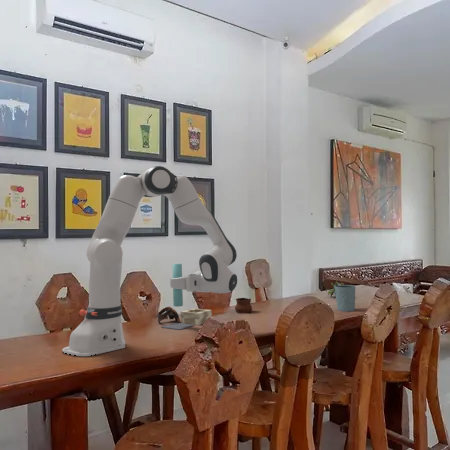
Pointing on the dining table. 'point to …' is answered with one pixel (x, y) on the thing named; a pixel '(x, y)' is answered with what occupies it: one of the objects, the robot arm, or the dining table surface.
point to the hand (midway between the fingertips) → (175, 280)
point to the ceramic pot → (243, 305)
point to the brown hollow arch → (168, 314)
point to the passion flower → (334, 288)
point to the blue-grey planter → (345, 297)
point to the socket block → (195, 316)
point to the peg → (177, 292)
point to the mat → (177, 326)
